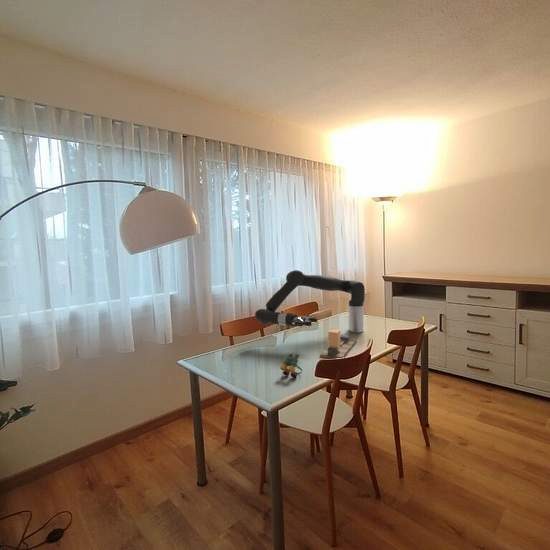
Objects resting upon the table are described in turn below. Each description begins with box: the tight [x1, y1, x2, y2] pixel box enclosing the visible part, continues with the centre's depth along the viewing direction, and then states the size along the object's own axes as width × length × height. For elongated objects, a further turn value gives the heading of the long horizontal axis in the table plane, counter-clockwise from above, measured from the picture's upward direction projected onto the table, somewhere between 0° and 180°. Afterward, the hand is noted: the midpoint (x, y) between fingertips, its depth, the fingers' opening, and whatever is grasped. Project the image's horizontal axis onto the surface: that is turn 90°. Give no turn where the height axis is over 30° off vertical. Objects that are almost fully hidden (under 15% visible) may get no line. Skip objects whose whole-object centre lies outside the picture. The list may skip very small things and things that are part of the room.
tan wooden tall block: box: [327, 329, 341, 350], centre depth 174 cm, size 5×5×10 cm
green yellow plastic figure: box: [279, 352, 303, 378], centre depth 150 cm, size 9×9×10 cm
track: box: [319, 334, 357, 359], centre depth 182 cm, size 30×12×4 cm, turn 152°
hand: (314, 322), depth 178 cm, fingers open, 8 cm apart
